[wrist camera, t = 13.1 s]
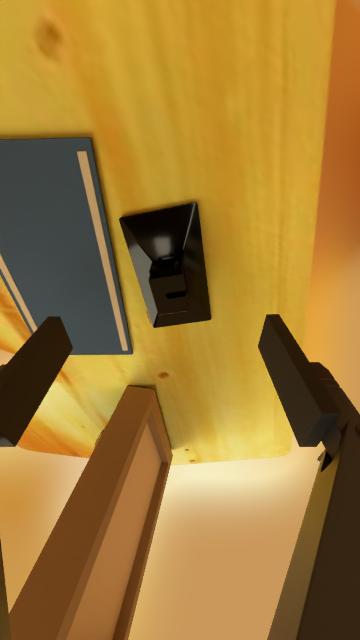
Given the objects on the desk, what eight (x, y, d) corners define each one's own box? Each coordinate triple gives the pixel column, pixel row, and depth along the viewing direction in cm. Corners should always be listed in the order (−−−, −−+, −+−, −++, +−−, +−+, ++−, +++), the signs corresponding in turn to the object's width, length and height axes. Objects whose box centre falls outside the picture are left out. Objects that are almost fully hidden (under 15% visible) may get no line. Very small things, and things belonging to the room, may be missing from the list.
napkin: (-67, 141, 16) (-73, 140, 16) (91, 138, 16) (89, 137, 16) (44, 353, 29) (42, 355, 29) (133, 352, 29) (132, 355, 28)
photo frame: (154, 383, 33) (109, 748, 12) (172, 450, 45) (165, 685, 25) (60, 389, 34) (-128, 735, 13) (103, 453, 46) (41, 681, 26)
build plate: (211, 317, 26) (216, 344, 22) (151, 326, 26) (146, 353, 23) (197, 201, 18) (201, 210, 15) (116, 217, 19) (100, 230, 15)
